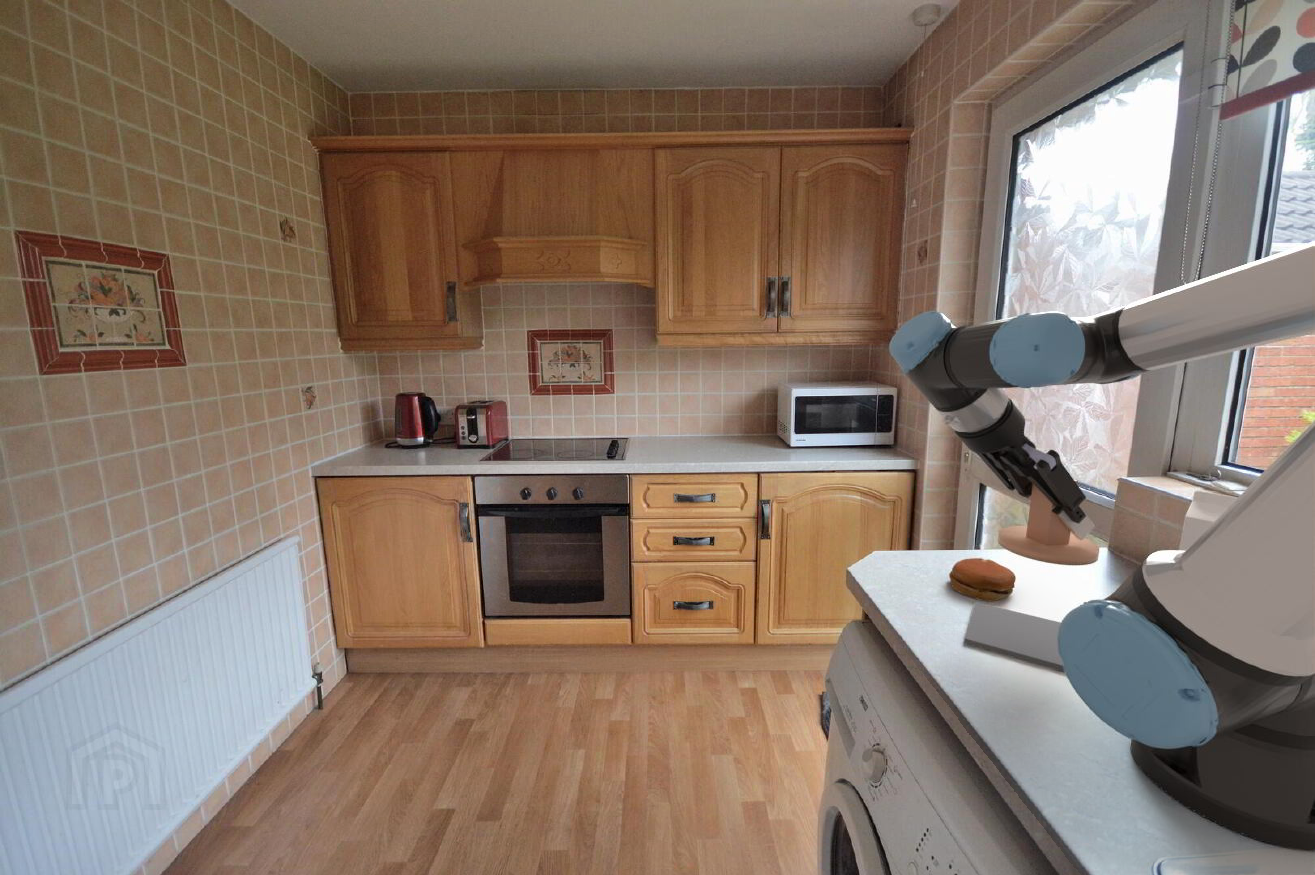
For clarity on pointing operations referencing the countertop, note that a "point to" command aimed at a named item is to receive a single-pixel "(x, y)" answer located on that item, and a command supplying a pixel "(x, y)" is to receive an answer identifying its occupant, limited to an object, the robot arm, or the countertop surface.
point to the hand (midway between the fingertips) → (1072, 526)
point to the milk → (1202, 515)
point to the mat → (1015, 635)
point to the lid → (1047, 537)
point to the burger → (982, 579)
